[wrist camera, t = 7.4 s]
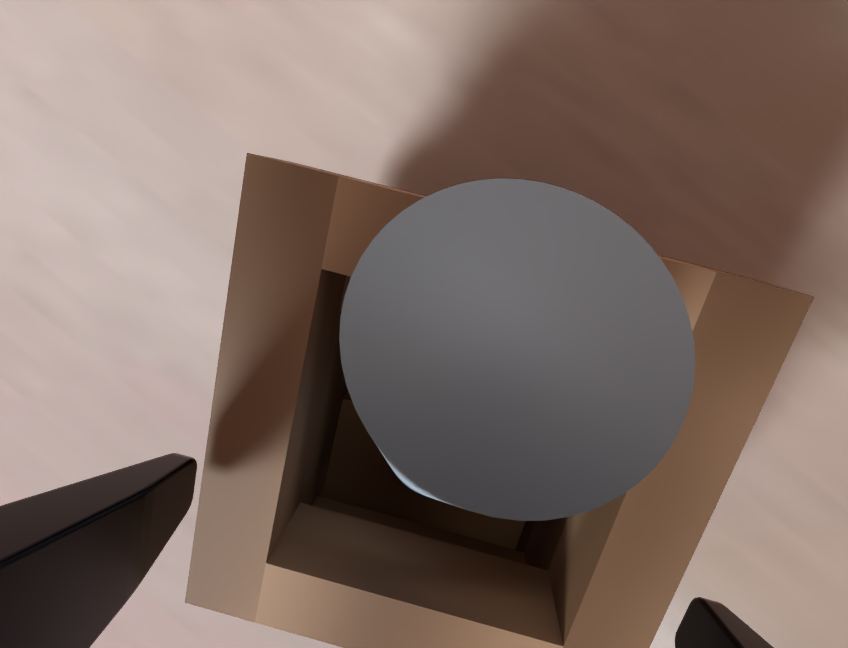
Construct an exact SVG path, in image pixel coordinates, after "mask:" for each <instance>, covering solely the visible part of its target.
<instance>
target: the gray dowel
mask: <svg viewBox="0 0 848 648" xmlns="http://www.w3.org/2000/svg"><path fill="white" fill-rule="evenodd" d="M339 343H340V354H341V364H342V369H343V373H344V377H345V382H346V386H347V389H348V391H349V394H350V397H351V399H352V402H353V405H354V407H355V410H356V411H357V413H358V415H359V417H360V419H361V421H362V423H363V424H364V426H365V428H366V430H367V432H368V433H369V435H370V436H371V438H372V439H373V441H374V442H375V444H376V445H377V447H378V448H379V450H380V452H381V453H382V455H383V456H384V458H385V459H386V461H387V462H388V464H389V465H390V467H391V468H392V470H393V472H394V473H395V474H396V476H397V477H398V478H399V479H400V481H401V482H402V483H403V484H405V485H406V486H407V487H408V488H410V489H411V490H413V491H415V492H417V493H419V494H421V495H424V496H427V497H430V498H433V499H436V500H439V501H442V502H444V503H447V504H450V505H453V506H456V507H459V508H462V509H465V510H468V511H472V512H475V513H479V514H483V515H486V516H490V517H494V518H502V519H509V520H517V521H545V520H552V519H558V518H565V517H571V516H574V515H577V514H581V513H584V512H587V511H590V510H593V509H596V508H598V507H600V506H602V505H604V504H606V503H608V502H610V501H613V500H615V499H617V498H618V497H620V496H621V495H623V494H624V493H626V492H627V491H628V490H630V489H631V488H633V487H634V486H636V485H637V484H638V483H639V482H640V481H641V480H643V479H644V478H645V477H646V476H647V475H648V474H649V473H650V472H651V471H652V470H653V469H654V468H655V467H656V466H657V464H658V463H659V462H660V461H661V459H662V458H663V457H664V456H665V454H666V453H667V452H668V450H669V449H670V447H671V445H672V444H673V442H674V440H675V438H676V437H677V435H678V433H679V431H680V429H681V427H682V424H683V422H684V419H685V416H686V414H687V411H688V408H689V404H690V400H691V395H692V391H693V386H694V374H695V351H694V339H693V334H692V329H691V324H690V319H689V316H688V313H687V310H686V307H685V304H684V301H683V298H682V296H681V294H680V292H679V289H678V287H677V285H676V283H675V281H674V279H673V277H672V276H671V274H670V272H669V271H668V269H667V268H666V266H665V264H664V263H663V261H662V260H661V258H660V257H659V256H658V255H657V253H656V252H655V251H654V250H653V248H652V247H651V246H650V245H649V244H648V242H647V241H646V240H645V239H644V238H643V237H642V236H641V235H640V234H639V233H638V232H637V231H636V230H635V229H634V228H632V227H631V226H630V225H629V224H627V223H626V222H625V221H624V220H622V219H621V218H620V217H619V216H617V215H616V214H615V213H613V212H611V211H610V210H608V209H607V208H605V207H603V206H602V205H600V204H599V203H597V202H595V201H593V200H591V199H589V198H587V197H585V196H583V195H581V194H579V193H576V192H573V191H570V190H567V189H565V188H562V187H559V186H555V185H551V184H547V183H543V182H539V181H531V180H523V179H501V178H496V179H486V180H476V181H471V182H467V183H462V184H458V185H454V186H451V187H448V188H446V189H443V190H440V191H437V192H435V193H433V194H431V195H429V196H427V197H425V198H423V199H421V200H419V201H417V202H415V203H414V204H412V205H411V206H409V207H408V208H406V209H405V210H403V211H402V212H401V213H399V214H398V215H397V216H396V217H395V218H394V219H392V220H391V221H390V222H389V223H388V224H387V225H386V226H385V227H384V228H383V229H382V230H381V231H380V232H379V233H378V234H377V236H376V237H375V238H374V239H373V240H372V241H371V243H370V244H369V246H368V247H367V249H366V250H365V252H364V253H363V255H362V256H361V258H360V260H359V262H358V264H357V266H356V268H355V270H354V272H353V274H352V276H351V279H350V281H349V284H348V287H347V290H346V293H345V296H344V301H343V307H342V312H341V317H340V336H339Z"/></svg>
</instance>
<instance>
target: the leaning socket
mask: <svg viewBox="0 0 848 648" xmlns="http://www.w3.org/2000/svg"><path fill="white" fill-rule="evenodd" d="M425 197H427V196H423V195H419V194H415V193H411V192H407V191H403V190H400V189H396V188H392V187H388V186H384V185H380V184H376V183H372V182H368V181H364V180H360V179H356V178H352V177H348V176H344V175H340V174H336V173H333V172H329V171H325V170H321V169H317V168H313V167H309V166H305V165H301V164H297V163H293V162H288V161H284V160H279V159H274V158H269V157H264V156H259V155H255V154H250V153H247V157H246V164H245V171H244V178H243V186H242V193H241V200H240V207H239V215H238V222H237V229H236V236H235V244H234V251H233V258H232V265H231V273H230V280H229V287H228V294H227V302H226V309H225V316H224V323H223V331H222V338H221V345H220V352H219V360H218V367H217V374H216V382H215V389H214V396H213V403H212V411H211V418H210V425H209V432H208V440H207V447H206V454H205V461H204V469H203V476H202V483H201V490H200V498H199V505H198V512H197V519H196V527H195V534H194V541H193V548H192V556H191V563H190V570H189V577H188V585H187V592H186V599H185V603H189V604H192V605H196V606H199V607H203V608H206V609H210V610H213V611H217V612H220V613H224V614H227V615H231V616H234V617H238V618H241V619H245V620H248V621H252V622H255V623H259V624H262V625H266V626H269V627H273V628H276V629H280V630H284V631H287V632H291V633H294V634H298V635H301V636H305V637H308V638H312V639H315V640H319V641H322V642H326V643H329V644H333V645H336V646H340V647H343V648H649V647H650V645H651V643H652V641H653V639H654V637H655V634H656V632H657V630H658V628H659V626H660V624H661V622H662V620H663V617H664V615H665V613H666V611H667V609H668V607H669V605H670V603H671V600H672V598H673V596H674V594H675V592H676V590H677V588H678V585H679V583H680V581H681V579H682V577H683V575H684V573H685V571H686V568H687V566H688V564H689V562H690V560H691V558H692V556H693V554H694V551H695V549H696V547H697V545H698V543H699V541H700V539H701V537H702V534H703V532H704V530H705V528H706V526H707V524H708V522H709V520H710V517H711V515H712V513H713V511H714V509H715V507H716V505H717V503H718V500H719V498H720V496H721V494H722V492H723V490H724V488H725V485H726V483H727V481H728V479H729V477H730V475H731V473H732V471H733V468H734V466H735V464H736V462H737V460H738V458H739V456H740V454H741V451H742V449H743V447H744V445H745V443H746V441H747V439H748V437H749V434H750V432H751V430H752V428H753V426H754V424H755V422H756V420H757V417H758V415H759V413H760V411H761V409H762V407H763V405H764V403H765V400H766V398H767V396H768V394H769V392H770V390H771V388H772V386H773V383H774V381H775V379H776V377H777V375H778V373H779V371H780V368H781V366H782V364H783V362H784V360H785V358H786V356H787V354H788V351H789V349H790V347H791V345H792V343H793V341H794V339H795V337H796V334H797V332H798V330H799V328H800V326H801V324H802V322H803V320H804V317H805V315H806V313H807V311H808V309H809V307H810V305H811V303H812V300H813V298H814V297H813V296H809V295H806V294H802V293H799V292H795V291H792V290H788V289H785V288H781V287H778V286H774V285H771V284H767V283H764V282H760V281H757V280H753V279H750V278H746V277H743V276H739V275H735V274H731V273H727V272H723V271H719V270H715V269H711V268H707V267H703V266H699V265H695V264H691V263H687V262H683V261H679V260H676V259H672V258H668V257H664V256H660V255H658V256H659V257H660V258H661V260H662V261H663V263H664V264H665V266H666V268H667V269H668V271H669V272H670V274H671V276H672V277H673V279H674V281H675V283H676V285H677V287H678V289H679V292H680V294H681V296H682V298H683V301H684V304H685V307H686V310H687V313H688V316H689V319H690V324H691V329H692V334H693V339H694V351H695V374H694V386H693V391H692V395H691V400H690V404H689V408H688V411H687V414H686V416H685V419H684V422H683V424H682V427H681V429H680V431H679V433H678V435H677V437H676V438H675V440H674V442H673V444H672V445H671V447H670V449H669V450H668V452H667V453H666V454H665V456H664V457H663V458H662V459H661V461H660V462H659V463H658V464H657V466H656V467H655V468H654V469H653V470H652V471H651V472H650V473H649V474H648V475H647V476H646V477H645V478H644V479H643V480H641V481H640V482H639V483H638V484H637V485H636V486H634V487H633V488H631V489H630V490H628V491H627V492H626V493H624V494H623V495H621V496H620V497H618V498H617V499H615V500H613V501H610V502H608V503H606V504H604V505H602V506H600V507H598V508H596V509H593V510H590V511H587V512H584V513H581V514H577V515H574V516H571V517H565V518H558V519H552V520H545V521H517V520H509V519H502V518H494V517H490V516H486V515H483V514H479V513H475V512H472V511H468V510H465V509H462V508H459V507H456V506H453V505H450V504H447V503H444V502H442V501H439V500H436V499H433V498H430V497H427V496H424V495H421V494H419V493H417V492H415V491H413V490H411V489H410V488H408V487H407V486H406V485H405V484H403V483H402V482H401V481H400V479H399V478H398V477H397V476H396V474H395V473H394V472H393V470H392V468H391V467H390V465H389V464H388V462H387V461H386V459H385V458H384V456H383V455H382V453H381V452H380V450H379V448H378V447H377V445H376V444H375V442H374V441H373V439H372V438H371V436H370V435H369V433H368V432H367V430H366V428H365V426H364V424H363V423H362V421H361V419H360V417H359V415H358V413H357V411H356V410H355V407H354V405H353V402H352V399H351V397H350V394H349V391H348V389H347V386H346V382H345V377H344V373H343V369H342V364H341V354H340V343H339V336H340V317H341V312H342V307H343V301H344V296H345V293H346V290H347V287H348V284H349V281H350V279H351V276H352V274H353V272H354V270H355V268H356V266H357V264H358V262H359V260H360V258H361V256H362V255H363V253H364V252H365V250H366V249H367V247H368V246H369V244H370V243H371V241H372V240H373V239H374V238H375V237H376V236H377V234H378V233H379V232H380V231H381V230H382V229H383V228H384V227H385V226H386V225H387V224H388V223H389V222H390V221H391V220H392V219H394V218H395V217H396V216H397V215H398V214H399V213H401V212H402V211H403V210H405V209H406V208H408V207H409V206H411V205H412V204H414V203H415V202H417V201H419V200H421V199H423V198H425Z"/></svg>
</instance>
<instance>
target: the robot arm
mask: <svg viewBox="0 0 848 648" xmlns="http://www.w3.org/2000/svg"><path fill="white" fill-rule="evenodd" d="M196 470H197V463H196V460H195V459H194V458H192V457H188V456H184V455H181V454H177V453H172V454H168V455H165V456H161V457H158V458H155V459H152V460H148V461H145V462H142V463H139V464H135V465H132V466H129V467H126V468H122V469H119V470H116V471H113V472H109V473H106V474H103V475H100V476H96V477H93V478H90V479H87V480H83V481H80V482H77V483H74V484H70V485H67V486H64V487H61V488H57V489H54V490H51V491H48V492H44V493H41V494H38V495H35V496H31V497H28V498H25V499H21V500H18V501H15V502H12V503H8V504H5V505H2V506H0V648H90V646H91V645H92V644H93V643H94V641H95V640H96V639H97V638H98V636H99V635H100V634H101V633H102V631H103V630H104V629H105V628H106V627H107V625H108V624H109V623H110V622H111V620H112V619H113V618H114V617H115V615H116V614H117V613H118V612H119V610H120V609H121V608H122V607H123V605H124V604H125V603H126V602H127V600H128V599H129V598H130V596H131V595H132V594H133V593H134V591H135V590H136V589H137V587H138V586H139V584H140V583H141V581H142V580H143V578H144V577H145V575H146V574H147V572H148V571H149V569H150V568H151V566H152V565H153V563H154V562H155V560H156V559H157V557H158V556H159V554H160V553H161V551H162V550H163V548H164V547H165V545H166V544H167V542H168V540H169V539H170V537H171V536H172V534H173V533H174V531H175V530H176V528H177V527H178V525H179V524H180V522H181V521H182V519H183V518H184V516H185V515H186V513H187V511H188V510H189V508H190V505H191V503H192V499H193V493H194V485H195V477H196ZM675 648H773V647H772V646H771V645H770V644H769V643H768V642H766V641H765V640H764V639H763V638H762V637H761V636H759V635H758V634H757V633H756V632H755V631H754V630H752V629H751V628H750V627H749V626H748V625H747V624H745V623H744V622H743V621H742V620H741V619H739V618H738V617H737V616H736V615H735V614H734V613H732V612H731V611H730V610H729V609H728V608H727V607H725V606H724V605H723V604H721V603H719V602H716V601H712V600H708V599H705V598H701V597H698V598H694V599H693V600H692V601H691V603H690V605H689V607H688V609H687V611H686V613H685V615H684V617H683V619H682V621H681V623H680V625H679V628H678V630H677V632H676V636H675Z"/></svg>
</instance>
